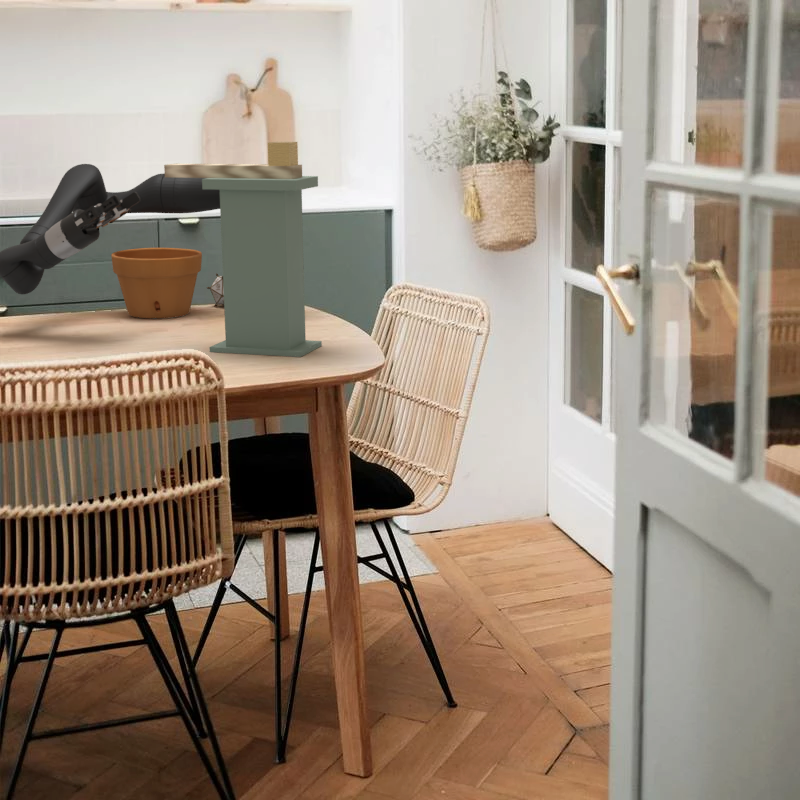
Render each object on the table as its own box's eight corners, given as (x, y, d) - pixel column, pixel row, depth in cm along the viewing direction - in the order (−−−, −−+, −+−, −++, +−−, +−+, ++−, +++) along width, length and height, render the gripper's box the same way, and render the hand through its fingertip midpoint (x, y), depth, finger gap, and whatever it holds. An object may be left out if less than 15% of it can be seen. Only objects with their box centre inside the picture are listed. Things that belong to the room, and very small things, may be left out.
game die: (233, 319, 325) (255, 286, 325) (225, 313, 316) (248, 278, 317) (204, 300, 326) (226, 267, 326) (195, 293, 317) (218, 259, 318)
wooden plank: (302, 177, 260) (301, 164, 260) (292, 178, 256) (292, 166, 255) (176, 175, 268) (175, 163, 268) (164, 177, 264) (164, 164, 263)
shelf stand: (321, 345, 271) (317, 176, 263) (300, 356, 260) (295, 180, 252) (233, 341, 277) (227, 175, 269) (209, 351, 266) (202, 179, 258)
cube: (298, 164, 260) (297, 141, 259) (289, 166, 256) (288, 142, 254) (277, 164, 261) (276, 141, 260) (268, 165, 257) (267, 142, 256)
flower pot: (218, 308, 319) (215, 248, 315) (181, 323, 299) (178, 259, 295) (139, 305, 324) (136, 246, 321) (99, 319, 304) (95, 256, 301)
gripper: (97, 246, 284) (153, 210, 278) (62, 254, 271) (120, 216, 265) (80, 216, 284) (136, 179, 278) (44, 222, 271) (102, 184, 265)
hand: (128, 197), depth 272 cm, fingers open, 8 cm apart
